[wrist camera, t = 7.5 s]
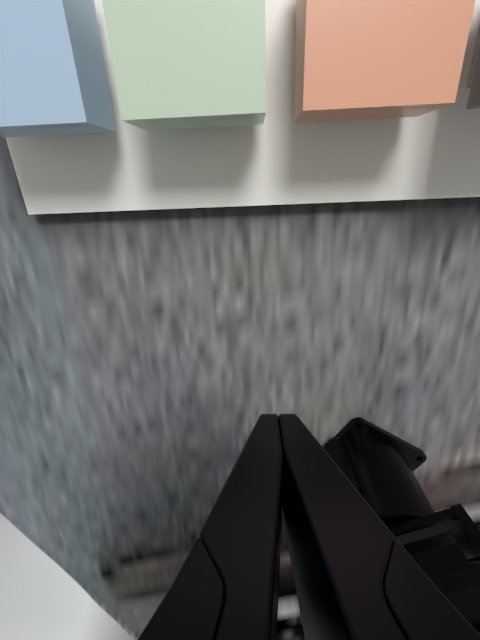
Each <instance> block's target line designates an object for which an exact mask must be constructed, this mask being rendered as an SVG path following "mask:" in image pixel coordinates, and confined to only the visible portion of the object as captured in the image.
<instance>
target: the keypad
mask: <svg viewBox="0 0 480 640" xmlns="http://www.w3.org/2000/svg"><path fill="white" fill-rule="evenodd" d="M296 2H297V0H265V67H266V114H265V118H264V123H263V124H261V125H242V126H222V127H203V128H183V129H164V130H143V129H141V128H139V127H136V126H134V125H132V124H129V123H127V122H125V121H122V118H121V112H120V106H119V100H118V94H117V88H116V82H115V76H114V70H113V64H112V57H111V51H110V45H109V39H108V33H107V27H106V21H105V15H104V9H103V3H102V0H94V4H95V10H96V15H97V21H98V27H99V33H100V39H101V45H102V50H103V56H104V62H105V68H106V74H107V79H108V85H109V91H110V97H111V103H112V109H113V114H114V120H115V126H116V132H106V133H86V134H67V135H47V136H28V137H9V138H6V141H7V145H8V148H9V151H10V155H11V158H12V161H13V165H14V168H15V171H16V175H17V178H18V182H19V185H20V188H21V192H22V195H23V198H24V202H25V205H26V208H27V212H28V215H31V214H56V213H81V212H107V211H132V210H158V209H183V208H208V207H234V206H259V205H284V204H310V203H335V202H361V201H386V200H411V199H437V198H462V197H480V109H466V108H467V104H468V99H469V94H470V89H471V85H472V80H473V75H474V71H475V66H476V61H477V56H478V52H479V47H480V0H475V4H474V9H473V14H472V19H471V24H470V29H469V34H468V40H467V45H466V50H465V55H464V60H463V65H462V70H461V75H460V80H459V85H458V90H457V95H456V100H455V103H453V104H450V105H447V106H445V107H442V108H439V109H436V110H434V111H431V112H428V113H425V114H423V115H420V116H417V117H400V118H381V119H361V120H342V121H322V122H303V123H294V83H295V42H296Z"/></svg>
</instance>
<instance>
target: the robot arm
mask: <svg viewBox="0 0 480 640" xmlns="http://www.w3.org/2000/svg"><path fill="white" fill-rule="evenodd" d="M359 424H361V425H359ZM357 425H359V426H357ZM426 458H427V457H426V455H425V453H424V452H423V451H422V450H420V449H419V448H417V447H415V446H413V445H411V444H409V443H407V442H405V441H404V440H402V439H400V438H398V437H396V436H394V435H392V434H390V433H389V432H387V431H385V430H383V429H381V428H379V427H377V426H376V425H374V424H372V423H370V422H368V421H366V420H364V419H362V418H355V419H353V420H352V421H351V422H350V423H349V424H348V425H347V426H346V427H345V428H344V429H343V430H342V431H341V432H340V433H339V434H338V435H337V436H336V437H335V438H334V439H333V440H332V441H331V443H330V444H329V445H328V446H327V447H326V448H325V449H323V447H322V446H321V445H320V444H319V442H318V441H317V440H316V439H315V437H314V436H313V435H312V434H311V432H310V431H309V430H308V429H307V428H306V426H305V425H304V424H303V423H302V421H301V420H300V419H299V418H298V416H297V415H295V414H280V415H279V416H277V415H276V414H262V415H260V417H259V419H258V421H257V422H256V424H255V426H254V428H253V430H252V432H251V434H250V436H249V438H248V440H247V442H246V444H245V446H244V448H243V450H242V452H241V454H240V456H239V457H238V459H237V461H236V463H235V465H234V467H233V469H232V471H231V473H230V475H229V477H228V479H227V481H226V483H225V485H224V487H223V489H222V491H221V492H220V494H219V496H218V498H217V500H216V502H215V504H214V506H213V508H212V510H211V512H210V514H209V516H208V518H207V520H206V522H205V524H204V526H203V528H202V529H201V531H200V533H199V538H197V539H196V541H195V543H194V545H193V547H192V548H191V550H190V552H189V554H188V556H187V558H186V560H185V562H184V564H183V565H182V567H181V569H180V571H179V573H178V574H177V576H176V578H175V580H174V582H173V583H172V585H171V587H170V589H169V591H168V592H167V594H166V595H165V597H164V599H163V600H162V602H161V603H160V605H159V607H158V608H157V610H156V611H155V613H154V615H153V616H152V618H151V619H150V621H149V623H148V624H147V626H146V627H145V629H144V630H143V632H142V634H141V635H140V637H139V638H138V640H276V634H277V613H278V592H279V570H280V549H281V528H282V511H283V519H284V525H285V531H286V536H287V542H288V547H289V553H290V558H291V564H292V569H293V575H294V580H295V586H296V591H297V597H298V602H299V608H300V613H301V619H302V624H303V630H304V635H305V640H480V531H479V529H478V528H477V527H476V525H475V524H474V522H473V521H472V520H471V518H470V517H469V515H468V514H467V512H466V511H465V510H464V508H463V507H462V505H461V504H460V503H459V504H455V505H452V506H450V507H451V508H449V509H446V510H442V511H439V512H434V510H433V508H432V507H431V505H430V503H429V501H428V499H427V497H426V496H425V494H424V492H423V490H422V488H421V486H420V485H419V483H418V481H417V479H416V477H415V475H414V473H413V471H414V470H415V469H416V468H418V467H419V466H420V465H421V464H422V463H424V462H425V461H426Z"/></svg>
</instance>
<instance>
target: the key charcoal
mask: <svg viewBox="0 0 480 640" xmlns="http://www.w3.org/2000/svg"><path fill="white" fill-rule="evenodd" d="M466 109H480V47H479V52H478V56H477V61H476V66H475V71H474V75H473V80H472V85H471V89H470V94H469V99H468V104H467V108H466Z"/></svg>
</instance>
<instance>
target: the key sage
mask: <svg viewBox="0 0 480 640" xmlns="http://www.w3.org/2000/svg"><path fill="white" fill-rule="evenodd" d="M102 3H103V9H104V15H105V21H106V27H107V33H108V39H109V45H110V51H111V57H112V64H113V70H114V76H115V82H116V88H117V94H118V100H119V106H120V112H121V118H122V121H125V122H127V123H129V124H132V125H134V126H136V127H139V128H141V129H143V130H164V129H183V128H203V127H222V126H242V125H261V124H263V123H264V118H265V114H266V67H265V0H102Z"/></svg>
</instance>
